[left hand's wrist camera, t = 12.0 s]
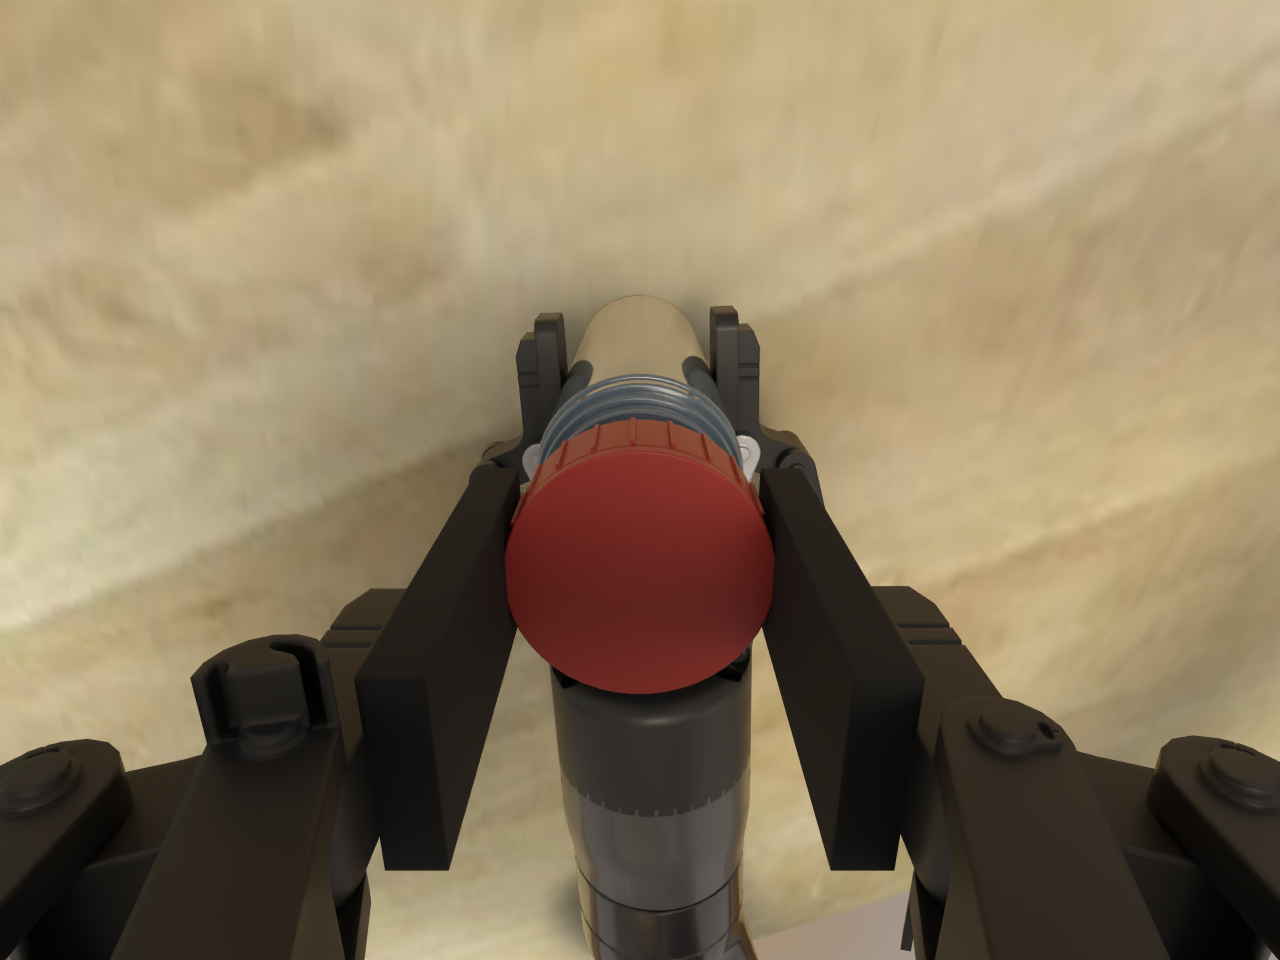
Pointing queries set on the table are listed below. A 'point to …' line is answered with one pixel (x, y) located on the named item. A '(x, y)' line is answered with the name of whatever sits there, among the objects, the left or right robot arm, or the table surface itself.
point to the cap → (639, 558)
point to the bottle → (639, 377)
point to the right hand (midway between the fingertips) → (635, 315)
